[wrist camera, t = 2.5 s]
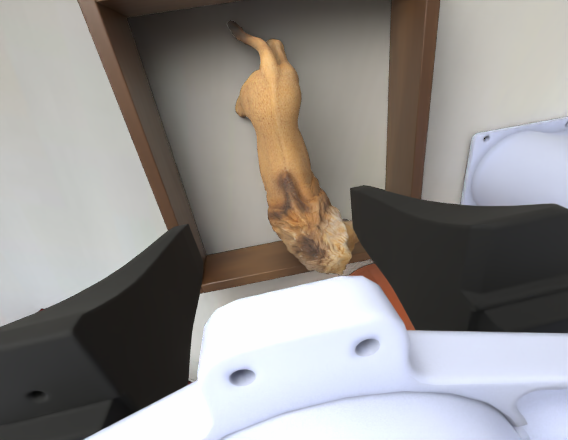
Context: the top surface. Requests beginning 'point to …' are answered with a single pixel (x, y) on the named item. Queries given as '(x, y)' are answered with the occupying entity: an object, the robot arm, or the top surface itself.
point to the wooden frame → (159, 159)
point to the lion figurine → (290, 163)
